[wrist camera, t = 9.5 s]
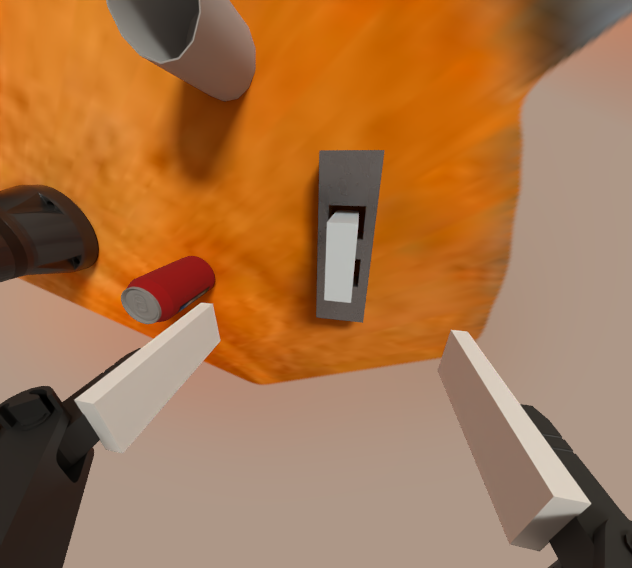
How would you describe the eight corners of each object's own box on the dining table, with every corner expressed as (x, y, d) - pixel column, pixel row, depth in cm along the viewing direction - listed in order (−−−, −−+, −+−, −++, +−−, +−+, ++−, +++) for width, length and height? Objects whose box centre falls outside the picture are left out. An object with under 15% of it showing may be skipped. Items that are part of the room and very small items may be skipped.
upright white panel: (353, 269, 34) (350, 302, 25) (334, 267, 35) (324, 300, 25) (359, 210, 30) (358, 223, 21) (337, 209, 31) (326, 222, 22)
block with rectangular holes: (320, 304, 38) (316, 317, 34) (324, 154, 28) (319, 150, 25) (362, 308, 37) (362, 322, 33) (381, 154, 27) (384, 150, 24)
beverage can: (185, 286, 41) (124, 323, 31) (179, 251, 38) (109, 278, 28) (219, 292, 41) (168, 332, 30) (215, 257, 38) (157, 287, 27)
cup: (238, 116, 28) (182, 86, 20) (181, 74, 28) (96, 24, 19) (267, 36, 25) (215, -47, 16) (202, -15, 24) (109, -131, 15)
